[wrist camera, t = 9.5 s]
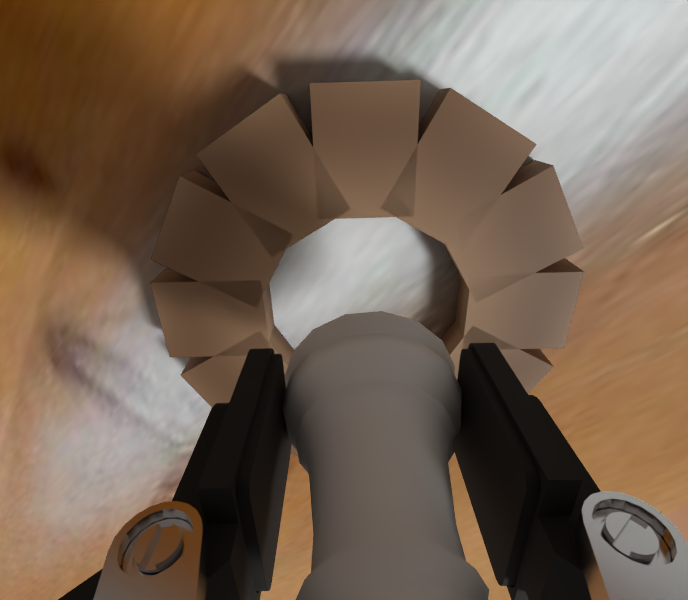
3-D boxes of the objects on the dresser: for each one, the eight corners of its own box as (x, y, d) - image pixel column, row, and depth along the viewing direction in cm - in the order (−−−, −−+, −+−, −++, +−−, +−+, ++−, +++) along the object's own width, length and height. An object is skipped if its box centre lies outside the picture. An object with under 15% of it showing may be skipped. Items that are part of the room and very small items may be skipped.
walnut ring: (608, 76, 11) (635, 72, 10) (523, 438, 18) (535, 460, 17) (121, 91, 12) (98, 89, 10) (208, 445, 18) (199, 467, 17)
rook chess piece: (283, 431, 12) (189, 956, 4) (288, 294, 10) (139, 835, 3) (433, 442, 12) (575, 959, 5) (468, 310, 10) (806, 850, 3)
